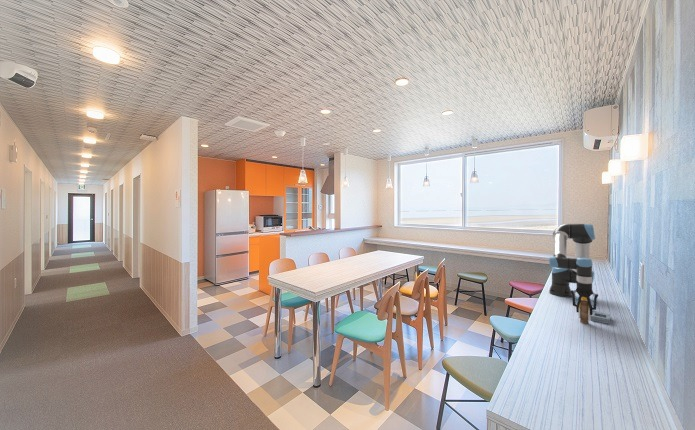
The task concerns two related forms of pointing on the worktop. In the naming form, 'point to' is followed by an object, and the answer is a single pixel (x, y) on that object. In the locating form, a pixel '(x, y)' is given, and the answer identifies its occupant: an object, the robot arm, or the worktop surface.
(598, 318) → the socket plate
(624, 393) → the worktop surface
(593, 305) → the yellow and blue toy
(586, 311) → the peg
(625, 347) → the worktop surface
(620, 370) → the worktop surface
